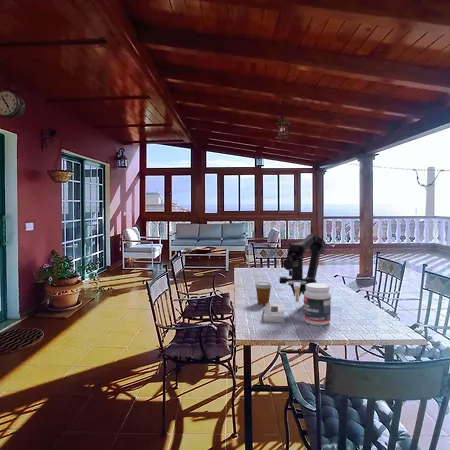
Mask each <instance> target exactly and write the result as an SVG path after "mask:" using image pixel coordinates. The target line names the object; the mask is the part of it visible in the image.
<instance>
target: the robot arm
mask: <svg viewBox="0 0 450 450" xmlns="http://www.w3.org/2000/svg"><path fill="white" fill-rule="evenodd" d="M326 244H327V243H326V241H325V240H324V239H323V238H321V237H319V236H318V235H316V234H307V236H306V237H304V238H302V240H300V241H299V242H294V243H291V244H290V247H289V249H288V252H287V254H286V259H284V260H283V263H282V266H283V268H284V270H286V271H288V277H289V278H288V277H287V276H279V284H288V286H290V289H291V290H292V294H293V297H296V293H295V284H294V283H299V288H300V293H299V297H301V295H304V292H305V291H306V288H305V287H306V284H308V283H318V282H317V280H316V278H317V272H318V267H319V262H320V256H321V255H322V253H323V252H325V248H326V246H327V245H326ZM308 247H309V250H310V252H311V255H310V259H309V264H308V269H307V274H306V276H305V278H304V277H303V276H304V272H303V270H304V269H303V267H304V266H303V265H304V264H303V262H304V261H303V260H304V258H305V256H304V255H305V253H306V252H307V251H306V249H307V248H308Z"/></svg>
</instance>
